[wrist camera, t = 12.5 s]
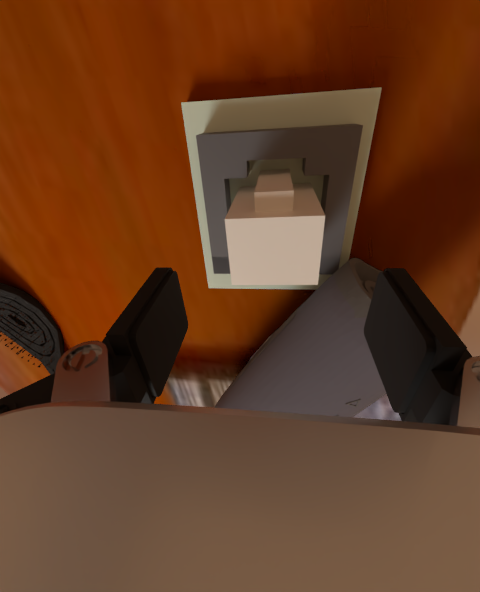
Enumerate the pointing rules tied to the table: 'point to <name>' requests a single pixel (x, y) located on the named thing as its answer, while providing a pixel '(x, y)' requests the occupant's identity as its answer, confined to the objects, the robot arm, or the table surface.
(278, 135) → the socket board
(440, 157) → the table surface
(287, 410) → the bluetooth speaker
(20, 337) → the hairbrush
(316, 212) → the keyed plug
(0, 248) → the table surface
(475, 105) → the table surface
